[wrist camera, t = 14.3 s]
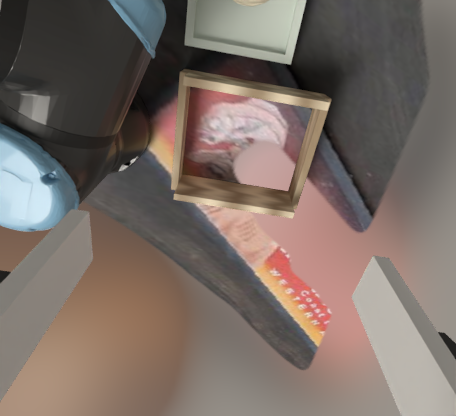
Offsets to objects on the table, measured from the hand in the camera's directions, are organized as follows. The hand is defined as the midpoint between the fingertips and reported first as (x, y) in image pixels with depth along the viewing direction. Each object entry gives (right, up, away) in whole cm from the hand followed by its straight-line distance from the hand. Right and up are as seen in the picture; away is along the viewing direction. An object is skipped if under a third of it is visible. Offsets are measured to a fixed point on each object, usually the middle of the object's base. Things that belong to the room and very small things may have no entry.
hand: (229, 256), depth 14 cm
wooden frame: (+2, +13, +33) cm, 35 cm away
